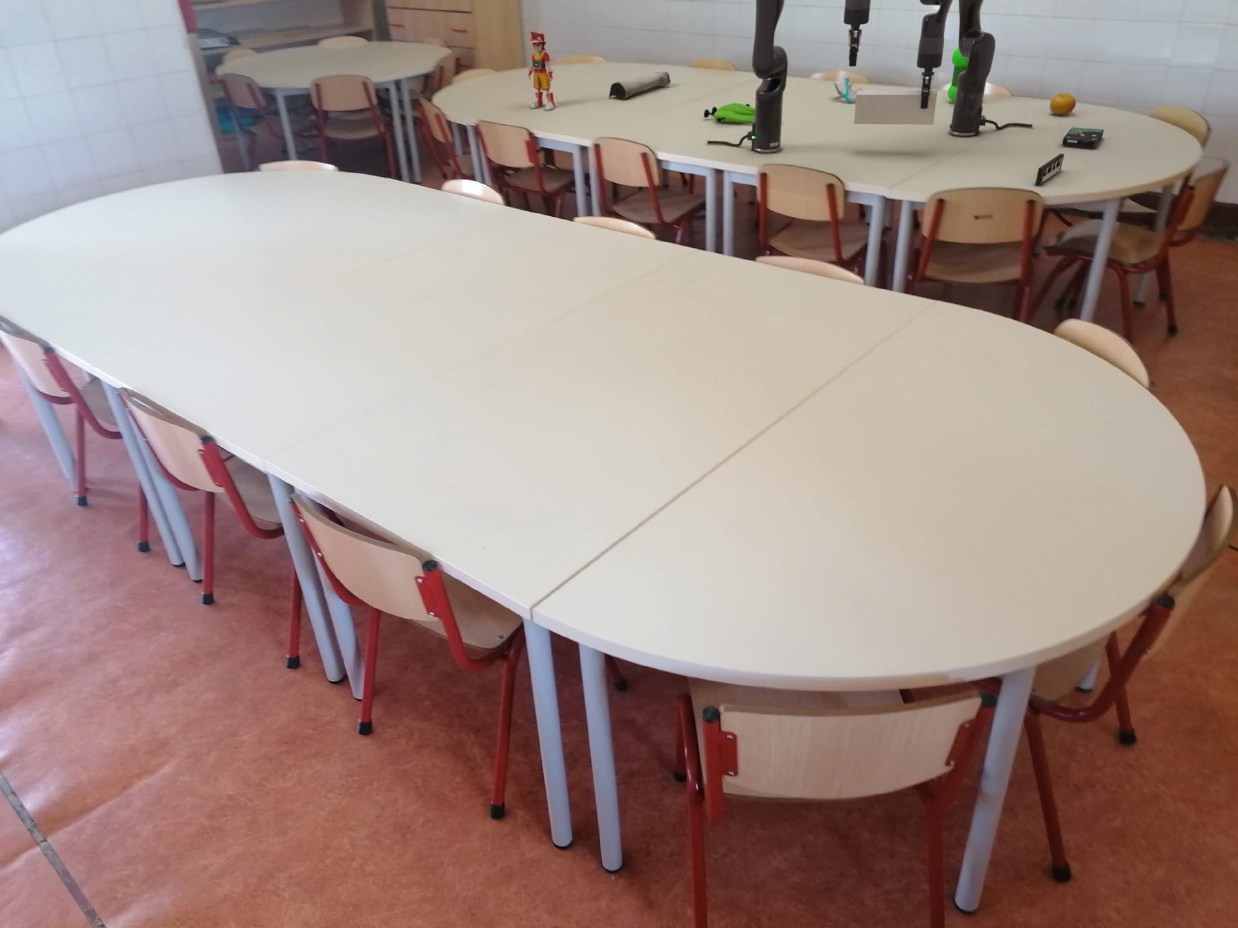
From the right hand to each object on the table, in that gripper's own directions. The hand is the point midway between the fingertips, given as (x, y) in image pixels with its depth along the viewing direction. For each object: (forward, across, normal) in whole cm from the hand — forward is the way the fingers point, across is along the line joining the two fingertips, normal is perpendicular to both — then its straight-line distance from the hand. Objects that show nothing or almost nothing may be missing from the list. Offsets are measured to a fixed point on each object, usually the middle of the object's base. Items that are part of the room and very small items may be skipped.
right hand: (924, 105), depth 293 cm
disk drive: (+17, +20, -52) cm, 58 cm away
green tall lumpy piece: (+17, +72, -12) cm, 75 cm away
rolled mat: (+14, +79, +122) cm, 146 cm away
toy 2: (+15, +37, +67) cm, 77 cm away
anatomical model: (+16, +73, +32) cm, 81 cm away
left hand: (-16, -13, +23) cm, 31 cm away
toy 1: (+13, +48, +156) cm, 164 cm away
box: (+5, 0, +9) cm, 10 cm away
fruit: (+17, +57, -48) cm, 76 cm away
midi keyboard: (+16, -21, -39) cm, 47 cm away
